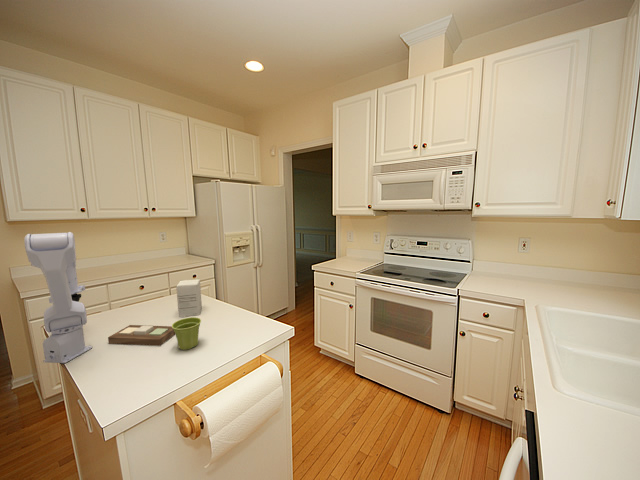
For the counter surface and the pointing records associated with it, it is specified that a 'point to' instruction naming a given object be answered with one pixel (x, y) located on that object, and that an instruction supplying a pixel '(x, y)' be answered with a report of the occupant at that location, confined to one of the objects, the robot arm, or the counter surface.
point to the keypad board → (142, 337)
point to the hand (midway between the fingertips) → (71, 314)
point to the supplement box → (189, 298)
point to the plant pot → (187, 332)
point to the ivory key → (143, 330)
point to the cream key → (128, 331)
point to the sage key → (158, 332)
